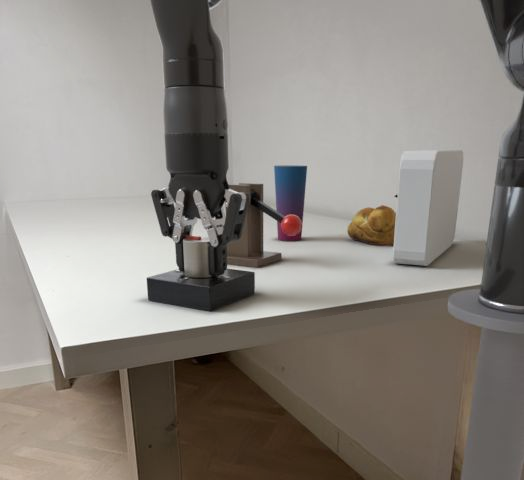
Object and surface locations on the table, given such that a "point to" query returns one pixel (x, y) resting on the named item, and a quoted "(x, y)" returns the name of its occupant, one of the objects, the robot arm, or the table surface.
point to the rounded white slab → (426, 205)
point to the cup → (290, 195)
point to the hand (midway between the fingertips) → (201, 272)
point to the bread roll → (373, 226)
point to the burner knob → (196, 256)
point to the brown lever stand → (250, 234)
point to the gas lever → (279, 216)
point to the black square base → (201, 289)
